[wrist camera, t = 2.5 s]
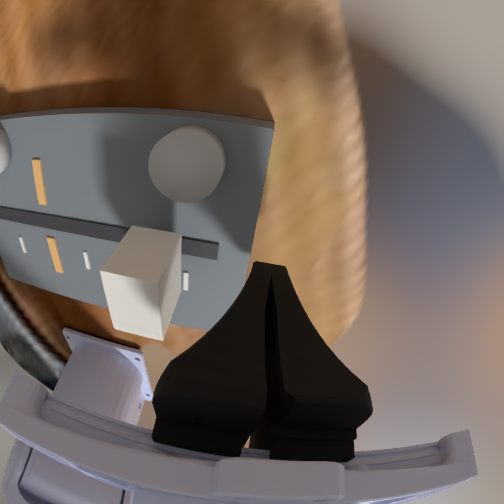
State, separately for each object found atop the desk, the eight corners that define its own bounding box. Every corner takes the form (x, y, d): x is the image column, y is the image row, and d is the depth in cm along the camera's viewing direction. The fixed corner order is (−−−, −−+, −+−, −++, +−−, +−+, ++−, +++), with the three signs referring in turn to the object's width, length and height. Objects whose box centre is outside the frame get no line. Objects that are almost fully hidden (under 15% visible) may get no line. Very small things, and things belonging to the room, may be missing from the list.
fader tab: (187, 274, 15) (163, 341, 11) (146, 266, 15) (114, 328, 11) (189, 219, 13) (157, 283, 9) (142, 211, 13) (99, 270, 9)
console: (237, 317, 19) (232, 351, 16) (18, 265, 18) (0, 287, 16) (274, 122, 12) (273, 136, 9) (-14, 117, 11) (-43, 131, 9)
